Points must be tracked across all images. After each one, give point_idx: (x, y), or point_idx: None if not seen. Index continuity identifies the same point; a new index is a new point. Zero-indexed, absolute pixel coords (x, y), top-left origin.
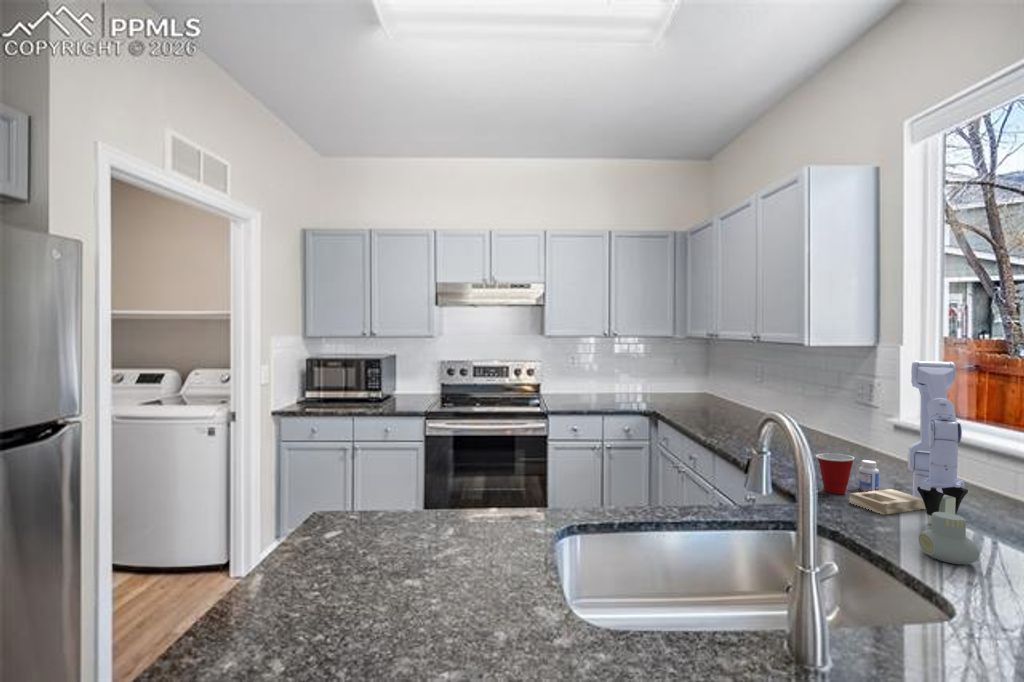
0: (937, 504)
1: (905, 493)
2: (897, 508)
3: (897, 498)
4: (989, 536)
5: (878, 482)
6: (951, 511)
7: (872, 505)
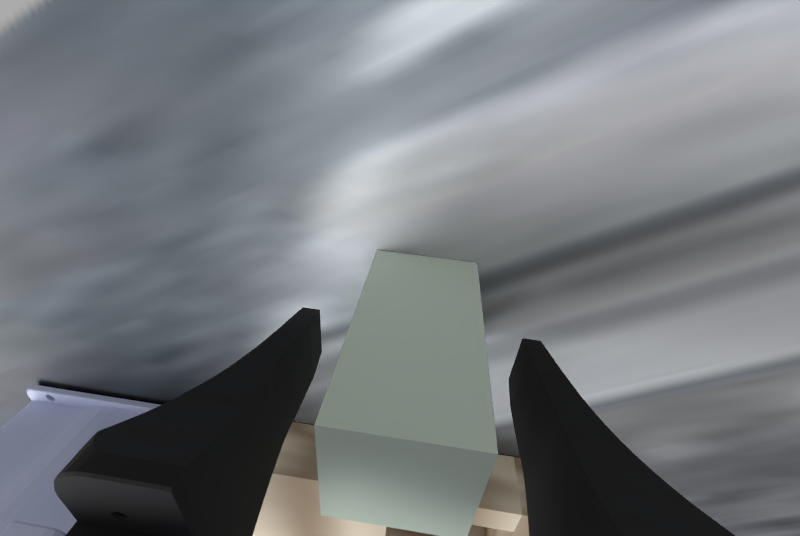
0: (599, 424)
1: None
2: None
3: None
4: (336, 49)
5: None
6: (403, 326)
7: None
